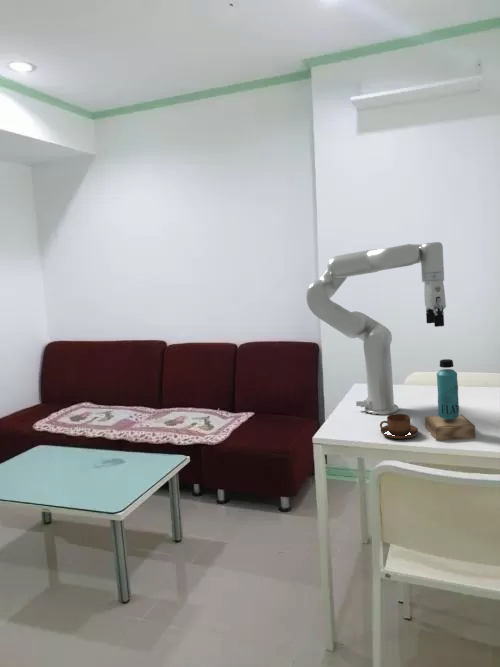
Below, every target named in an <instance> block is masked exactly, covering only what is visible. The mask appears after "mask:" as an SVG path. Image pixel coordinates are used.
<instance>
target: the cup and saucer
mask: <svg viewBox="0 0 500 667" xmlns="http://www.w3.org/2000/svg"><path fill="white" fill-rule="evenodd" d="M383 424H387V425H384V426H383ZM379 427H380V433H381V434H383V436H385V437H387V438H391V439H396V440H397V439H410V438H412V437H414V436H416V435H417V434H418V433H419V427H417V426H414V425H412V424H411V416H410V415H408V414H403V413H392V414H388V415H387V417H386V420H383V421H381V422H380V423H379ZM387 431H389V432H390V433H391V434H392V435H395V436H392V435H387V434H384V433H385V432H387ZM409 432H410V433H411V435H407V434H408V433H409ZM405 435H407V436H405Z"/></svg>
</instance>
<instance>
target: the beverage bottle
mask: <svg viewBox="0 0 500 667" xmlns="http://www.w3.org/2000/svg"><path fill="white" fill-rule="evenodd" d="M439 367H440V368H443V369H440V370H439V371H438V372H436V383H437V408H438V410H437V411H438V413H437V414H438V415H437V416H439V417H441V418H444V419H454V418H457V417H458V416H459V414H460V405H459V382H458V373H457V371H455V369H452V368H453V367H454V360H453V359H451V358H450V359H447V358H446V359H445V358H444V359H440V360H439Z"/></svg>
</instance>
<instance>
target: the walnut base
mask: <svg viewBox="0 0 500 667" xmlns="http://www.w3.org/2000/svg"><path fill="white" fill-rule="evenodd" d="M424 426H425V430H426V429H427V430H428V431H429V432H430V433H431V434H430V433H429V432H428V431H427V430H426V431H427V432H428V433H429V434H430V435H431V437H432V438H433V437H434V438H435V439H436V440H441V441H451V440H452V441H453V440H466V439H476V425H475V424H474V423H473V422H471V421H470V420H469V419H468V418H466V417H465V416H464V415H463V414H462V413H461V414H460V413H459V416H458V417H457V418H454V419H444V418H441V417H439V415H433V416H424ZM434 438H433V439H434ZM435 439H434V440H435ZM436 440H435V441H436Z"/></svg>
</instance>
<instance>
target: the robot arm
mask: <svg viewBox="0 0 500 667" xmlns="http://www.w3.org/2000/svg"><path fill="white" fill-rule="evenodd" d="M416 264H420V268H421V283H424V285H423V286H424V287H423V288H424V289H423V290H424V306H425V316H426V323H427V324H434V327H436V328H437V327H445V316H444V315H445V313H444V311H445V310H444V309H446V306H447V303H446V292H445V284H444V282H445V270H444V268H445V265H444V247H443V244H442V243H441V242H439V241H433V242H425V243H423V244H420V243H419V244H416V243H412V244H411V243H407V244H402V245H397V246H396V245H395V246H391V247H385V248H378V249H366V250H361V251H356V252H351V253H345V254H341V255H340V254H339V255H335V256H333V257H331V258H330V259H329V261H328V263H327V269H326V270H325V272H324V273H323V274H322V275H321V276H320V278H319V279H316V280H314V281H312V282H311V283H310V284H309V285H308V287H307V289H306V290H307V291H306V296H305V297H306V303H307V306H308V308H309V310H310V311H311V313H312V314H313V315H314V316H315V317H317V318H318V319H319V320H321V321H323V322H324V323H326V324H327V325H328V326H330V327H332V328H333V329H335V330H336V331H337V332H339V333H342V335H344V336H346V337H347V338H350V339H359V340H361V341H363V352H364V359H365V360H364V361H365V371H366V372H365V373H366V387H367V388H366V389H367V397H365V398H366V399H364V400H358V401H355V406H356V407H360V408H364V412H366V413H367V412H368V414H370V413H372V414H371V415H376V414H379V416H380V415H381V416H382V415H384V416H385V415H393V414H396V413H397V412H398V411H399V406H398V405H397V404H396V403H395V401H394V400H395V399H394V383H393V382H394V381H393V369H392V366H393V365H392V354H391V344H392V339H393V335H392V332H391V331H390V329H389V328H388V327H386V326H385V325H383V324H382V323H380V322H379V321H377V320H375V319H374V318H371V317H370V316H368V315H367V314H365V313H363V312H361V311H357V310H356V311H350V310H348V309H347V308H346V307H345V308H344V306H342V305H340V304H338V303H336V302H334V301H333V300H331V298H332V297H333V296H334V295H335V294H336V292H337V291H338V290H339V289H340V287H341V286H342V285H343V283H344V282H345V281H346V280H347V279H348V277H354V276H361V275H366V274H372V273H373V274H374V273H378V272H379V271H380V272H381V271H386V270H390V269H392V270H393V269H396V268H404V267H410V266H413V265H416Z"/></svg>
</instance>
